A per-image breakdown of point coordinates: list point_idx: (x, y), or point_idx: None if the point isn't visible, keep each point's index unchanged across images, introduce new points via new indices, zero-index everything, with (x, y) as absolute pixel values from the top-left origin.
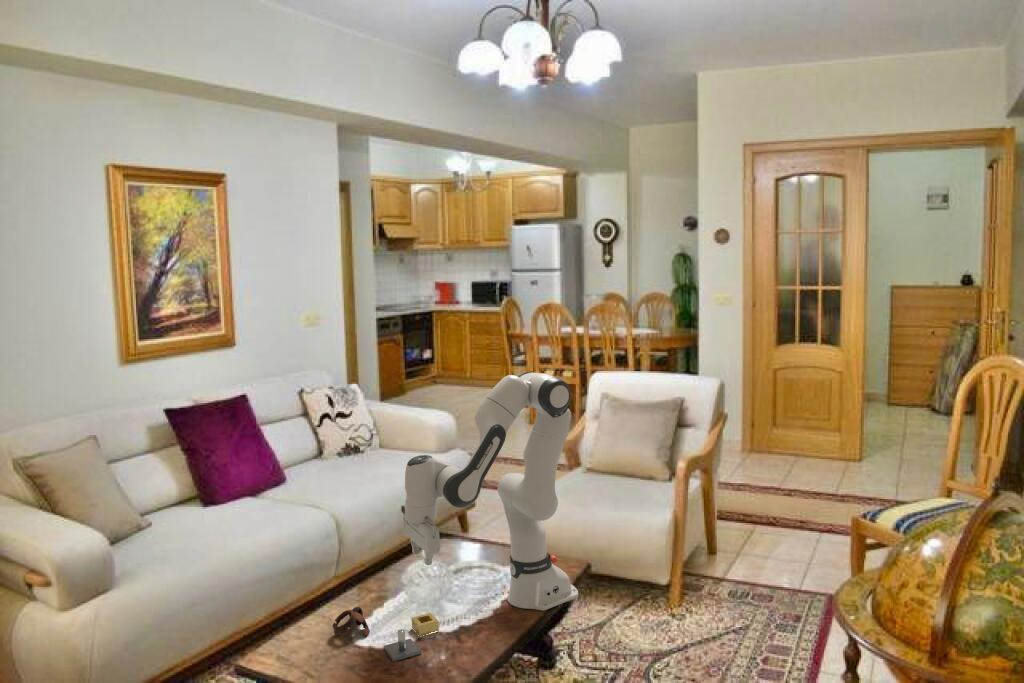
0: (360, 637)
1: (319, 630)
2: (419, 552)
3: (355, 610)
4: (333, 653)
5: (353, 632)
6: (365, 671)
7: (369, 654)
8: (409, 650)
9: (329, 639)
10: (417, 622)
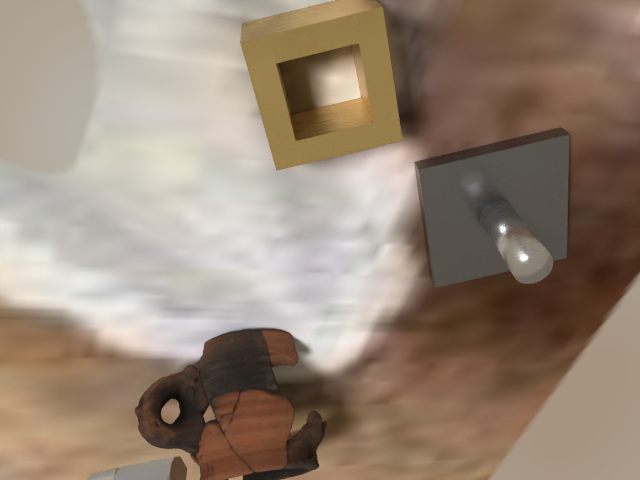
0: None
1: None
2: (173, 465)
3: (187, 440)
4: (381, 431)
5: None
6: (568, 342)
7: (447, 328)
8: (538, 187)
9: None
10: (353, 143)
